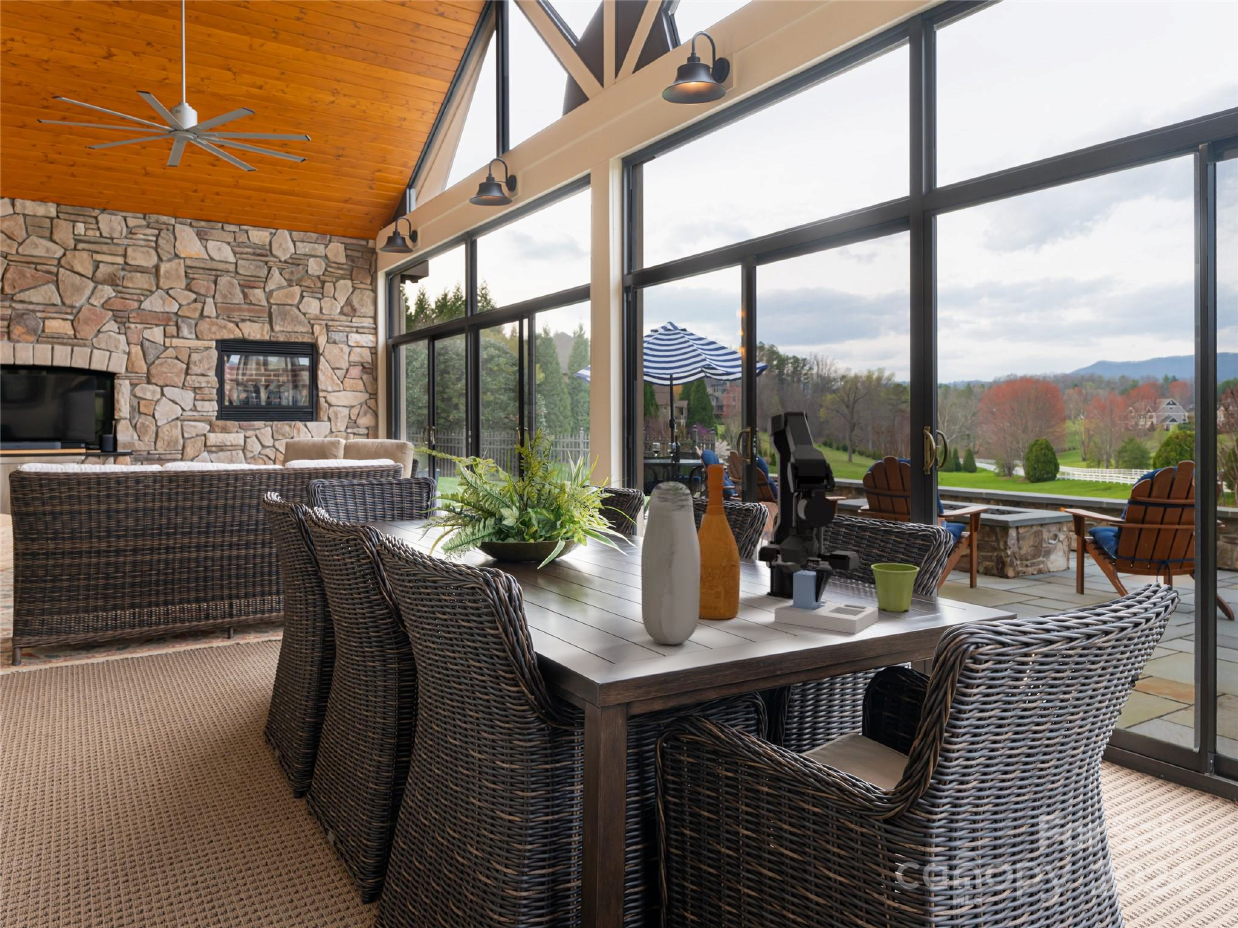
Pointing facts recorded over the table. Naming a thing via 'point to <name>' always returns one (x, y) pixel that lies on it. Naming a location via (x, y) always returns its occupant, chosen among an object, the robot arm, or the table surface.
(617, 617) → the table surface
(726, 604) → the wine bottle
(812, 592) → the plug
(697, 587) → the grey vase
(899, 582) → the plant pot
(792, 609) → the white socket block
